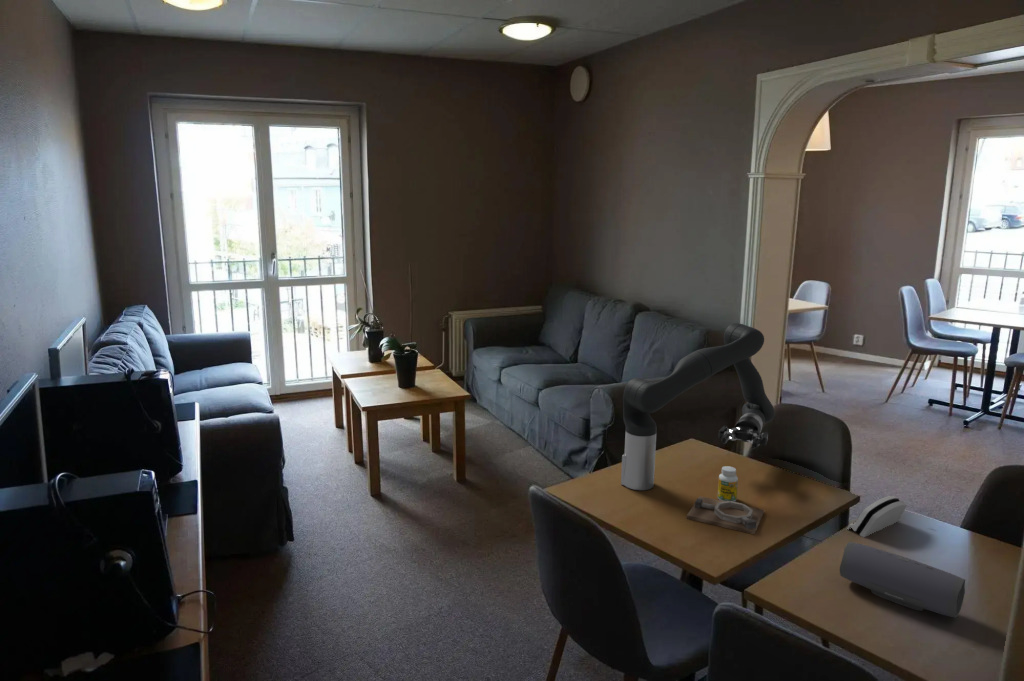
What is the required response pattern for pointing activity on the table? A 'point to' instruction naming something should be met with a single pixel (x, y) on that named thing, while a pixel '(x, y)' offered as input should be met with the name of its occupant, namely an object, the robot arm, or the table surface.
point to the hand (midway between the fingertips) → (738, 443)
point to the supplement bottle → (727, 484)
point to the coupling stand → (726, 514)
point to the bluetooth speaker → (903, 580)
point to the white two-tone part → (879, 515)
